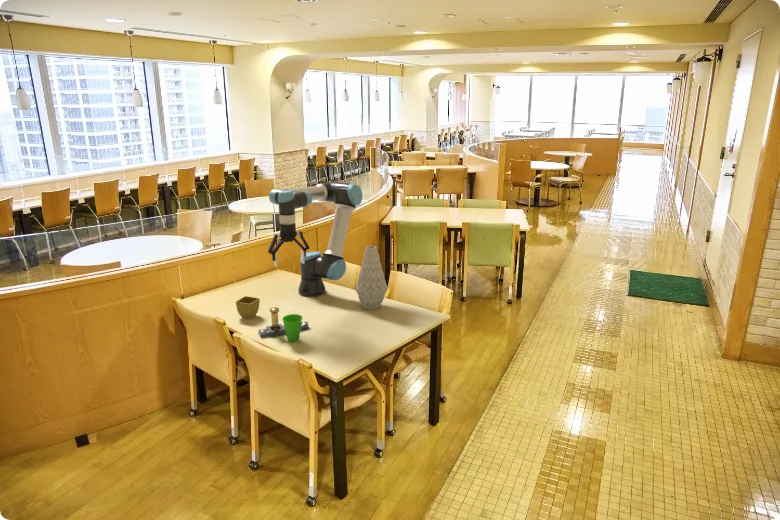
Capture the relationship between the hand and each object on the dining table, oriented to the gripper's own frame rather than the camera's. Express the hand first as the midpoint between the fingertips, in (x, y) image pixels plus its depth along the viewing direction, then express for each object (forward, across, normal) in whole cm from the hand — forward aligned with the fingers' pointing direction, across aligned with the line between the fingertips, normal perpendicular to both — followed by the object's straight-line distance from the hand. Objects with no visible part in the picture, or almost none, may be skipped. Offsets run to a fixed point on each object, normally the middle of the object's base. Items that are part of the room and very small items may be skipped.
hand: (289, 265), depth 261 cm
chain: (+27, +9, +17) cm, 33 cm away
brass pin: (+27, +13, +17) cm, 34 cm away
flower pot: (+27, +20, -8) cm, 34 cm away
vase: (+27, -41, +7) cm, 50 cm away
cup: (+27, +8, +29) cm, 40 cm away
